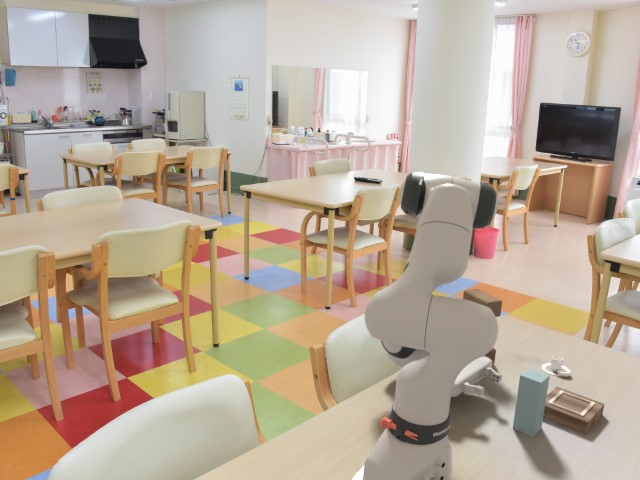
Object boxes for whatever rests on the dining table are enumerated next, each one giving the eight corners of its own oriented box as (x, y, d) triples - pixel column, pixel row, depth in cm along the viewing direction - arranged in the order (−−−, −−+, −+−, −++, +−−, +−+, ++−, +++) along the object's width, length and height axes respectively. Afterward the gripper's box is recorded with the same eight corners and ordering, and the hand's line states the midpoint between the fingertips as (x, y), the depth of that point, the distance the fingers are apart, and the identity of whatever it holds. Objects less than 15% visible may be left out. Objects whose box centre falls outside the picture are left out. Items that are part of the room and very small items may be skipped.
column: (532, 436, 139) (541, 382, 136) (512, 428, 142) (520, 375, 139) (541, 428, 143) (549, 375, 139) (521, 420, 146) (529, 368, 142)
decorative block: (495, 364, 174) (503, 300, 169) (479, 368, 172) (487, 303, 167) (471, 349, 184) (478, 288, 179) (456, 352, 182) (462, 290, 176)
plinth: (585, 433, 141) (588, 421, 140) (536, 413, 149) (538, 402, 148) (602, 414, 150) (604, 402, 149) (555, 396, 158) (557, 385, 157)
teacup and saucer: (573, 380, 168) (576, 367, 167) (544, 377, 169) (546, 364, 168) (567, 366, 176) (569, 353, 175) (539, 363, 178) (541, 350, 176)
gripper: (422, 367, 147) (473, 388, 139) (463, 343, 162) (511, 360, 153) (420, 390, 149) (470, 412, 140) (461, 365, 164) (508, 382, 155)
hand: (492, 385), depth 147 cm, fingers open, 8 cm apart
